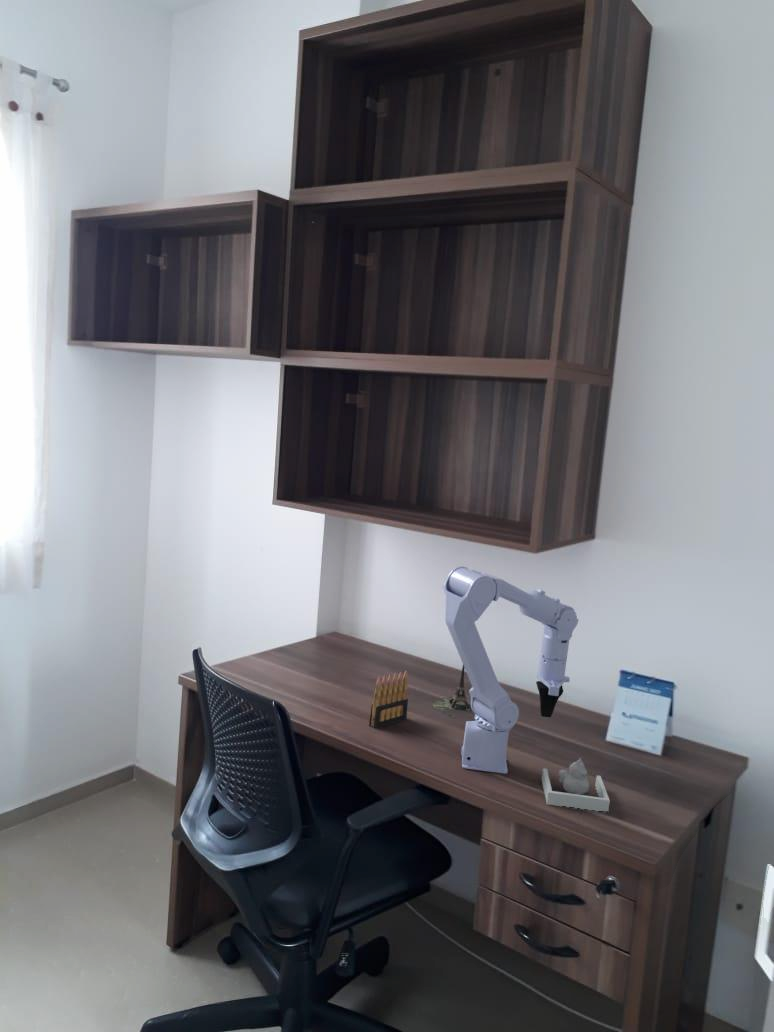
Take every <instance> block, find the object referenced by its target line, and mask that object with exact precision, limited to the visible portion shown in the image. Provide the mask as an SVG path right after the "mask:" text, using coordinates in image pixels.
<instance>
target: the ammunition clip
mask: <svg viewBox="0 0 774 1032" xmlns="http://www.w3.org/2000/svg"><path fill="white" fill-rule="evenodd" d="M408 674H409V673H408V670H405V672H404V674H403V672H402V671H400V672H399V673H398V674H397V672H395V673H394V674H393V675H394V676H393V675H392V674H389V675H388V678H387V676H386V675H383V678H382V680H381V676H378V678H377V680H376V684H375V689H374V694H373V702H372V704H371V709H370V716H369V723H368V725H369V726H370V727H371V728H373V729H377V728H380V727H383V726H384V727H385V726H387V725H391V724H395V723H399V722H402V721H405V720H407V719H408V718H407V717H408V704H409V703H408V702H409V699H408V698H407V697H408V692H409V691H408V690H409V688H408V684H409V682H408V680H409V675H408Z"/></svg>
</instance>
